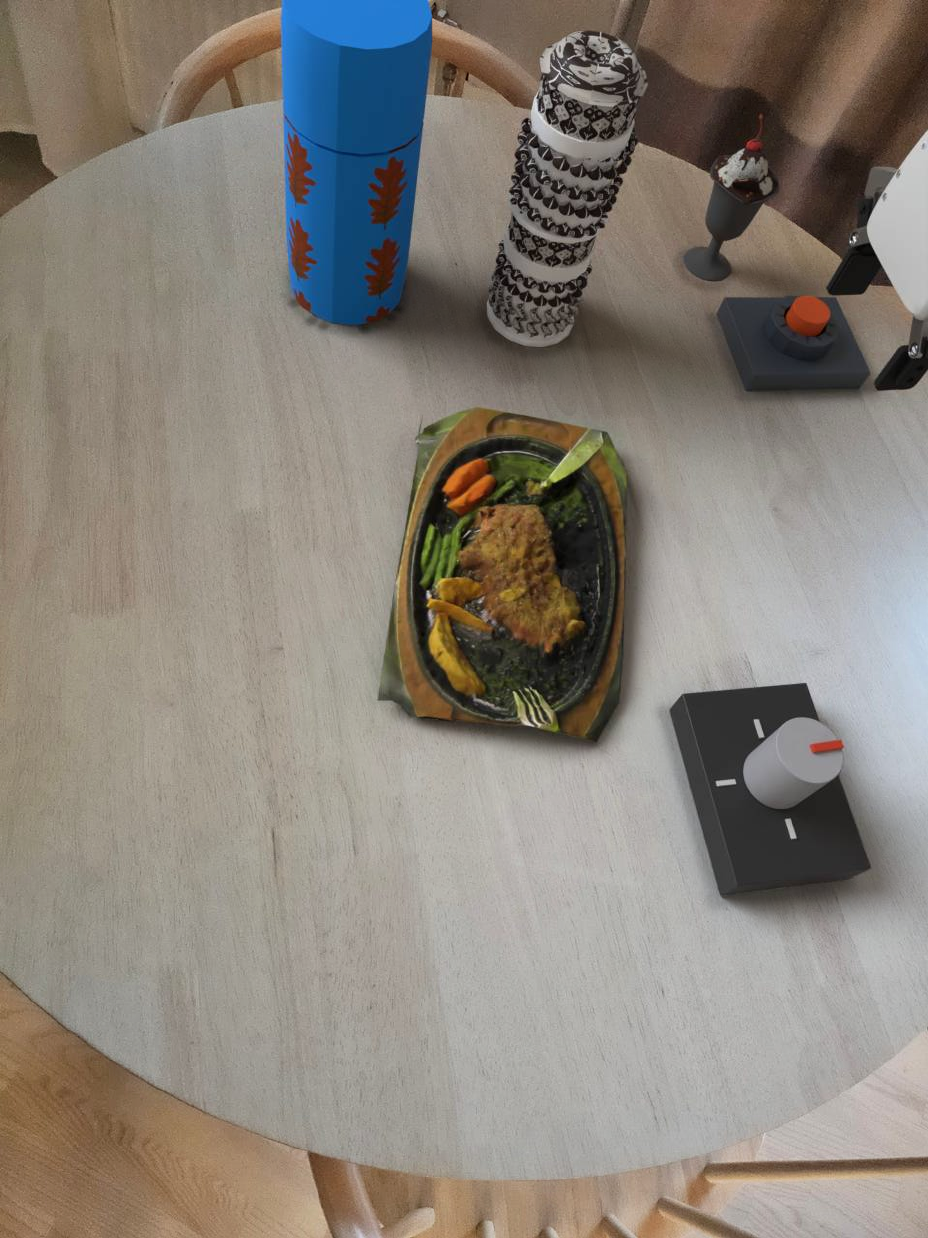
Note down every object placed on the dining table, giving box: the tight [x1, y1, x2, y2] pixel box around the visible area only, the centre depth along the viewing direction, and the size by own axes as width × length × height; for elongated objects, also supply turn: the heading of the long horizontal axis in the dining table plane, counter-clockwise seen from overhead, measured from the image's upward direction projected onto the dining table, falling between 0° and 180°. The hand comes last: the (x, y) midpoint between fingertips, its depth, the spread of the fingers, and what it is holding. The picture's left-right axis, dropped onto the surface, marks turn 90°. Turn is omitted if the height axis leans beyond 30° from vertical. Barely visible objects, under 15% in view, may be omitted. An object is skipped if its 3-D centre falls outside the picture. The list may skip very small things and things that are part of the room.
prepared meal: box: [377, 406, 628, 744], centre depth 74 cm, size 28×4×18 cm
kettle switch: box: [786, 295, 830, 337], centre depth 89 cm, size 4×4×2 cm
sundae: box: [683, 113, 780, 282], centre depth 90 cm, size 7×7×15 cm
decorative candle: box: [486, 29, 649, 348], centre depth 79 cm, size 9×9×25 cm
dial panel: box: [669, 682, 872, 897], centre depth 68 cm, size 14×10×3 cm
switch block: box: [716, 295, 872, 392], centre depth 91 cm, size 12×10×4 cm
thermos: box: [280, 0, 433, 326], centre depth 77 cm, size 11×11×25 cm
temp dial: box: [743, 717, 845, 809], centre depth 64 cm, size 5×5×6 cm
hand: (867, 338), depth 72 cm, fingers open, 9 cm apart
